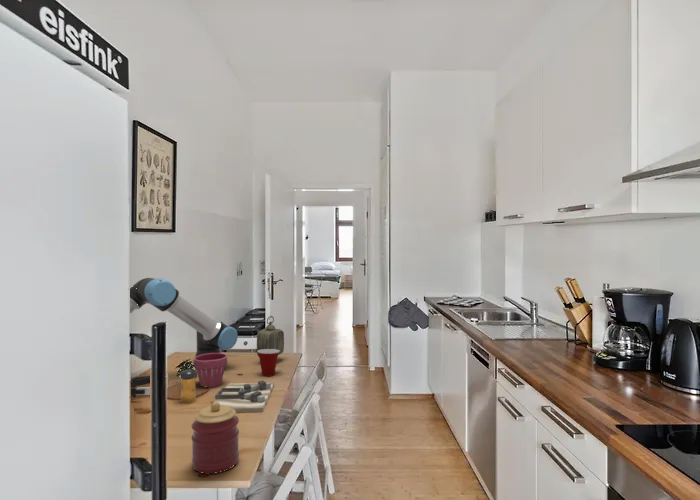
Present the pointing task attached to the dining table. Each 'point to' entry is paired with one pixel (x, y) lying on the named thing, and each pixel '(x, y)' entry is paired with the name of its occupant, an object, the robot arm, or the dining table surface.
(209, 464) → the canister
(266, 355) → the plastic cup
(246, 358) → the dining table surface
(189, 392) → the orange translucent cylinder
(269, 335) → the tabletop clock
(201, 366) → the plant pot
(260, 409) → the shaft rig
